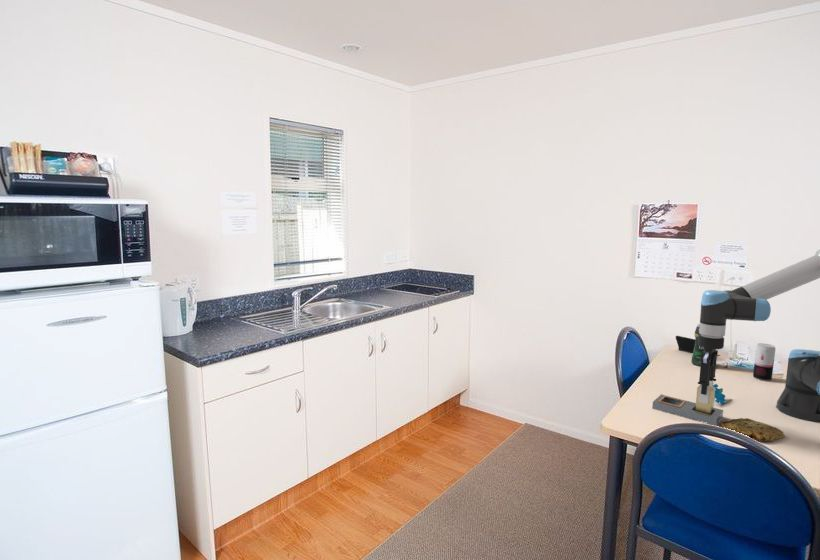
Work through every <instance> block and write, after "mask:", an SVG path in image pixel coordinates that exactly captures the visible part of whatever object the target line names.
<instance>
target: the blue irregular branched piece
mask: <svg viewBox="0 0 820 560" xmlns="http://www.w3.org/2000/svg"><path fill="white" fill-rule="evenodd" d="M713 387H715V397H714V402H715V403H717V404H721V405H723V404H725V402H727V400H726V399H725V398H726V395H725V394H724V393H723V390H724V389H723V387H720V388H718V387H719V385H718V383H713Z"/></svg>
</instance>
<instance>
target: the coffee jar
mask: <svg viewBox="0 0 820 560" xmlns="http://www.w3.org/2000/svg"><path fill="white" fill-rule="evenodd" d="M699 328H700V327H698V326H697V325H696V327H695V330H694V337H695V338H694V339H695V346H694V351H693V354H692V356H691V361H690V362H691V364H693V365H695V366H697V367H698V366H699V367H701V356H702V352H704V348H703V347H701V346H699V345H698V335H700V333H699Z"/></svg>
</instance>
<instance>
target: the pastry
mask: <svg viewBox="0 0 820 560" xmlns="http://www.w3.org/2000/svg"><path fill="white" fill-rule="evenodd" d="M720 426H721V428H723V427H725V428H728V429H731V430H735V431H736V432H739V433H742V434H744V435H747V436H749V437H751V438H750V439H752V438H753V439H752V440H754V439H755V440H757V441H756V442H769V441H770V442H771V441H772V442H773V441H775V440H780V439H784V437H785V434H784V431H782V430H781V429H779V428H778V427H776V426H773V425H770V424H767V423H764V422H760V421H756V420H753V419H751V418H743V417H740V418H734V419H730V420H727V421H725V420H724V421H721V423H720ZM755 440H754V441H755Z"/></svg>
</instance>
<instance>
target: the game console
mask: <svg viewBox="0 0 820 560" xmlns="http://www.w3.org/2000/svg"><path fill="white" fill-rule="evenodd" d="M675 340H676V343H677V346H678V351H680V352H685V353H688V354H692V353H693V351H694V346H695V338H689V337H685V336H680V335H675ZM718 353H719V352H718ZM718 353H717V356H718Z"/></svg>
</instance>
